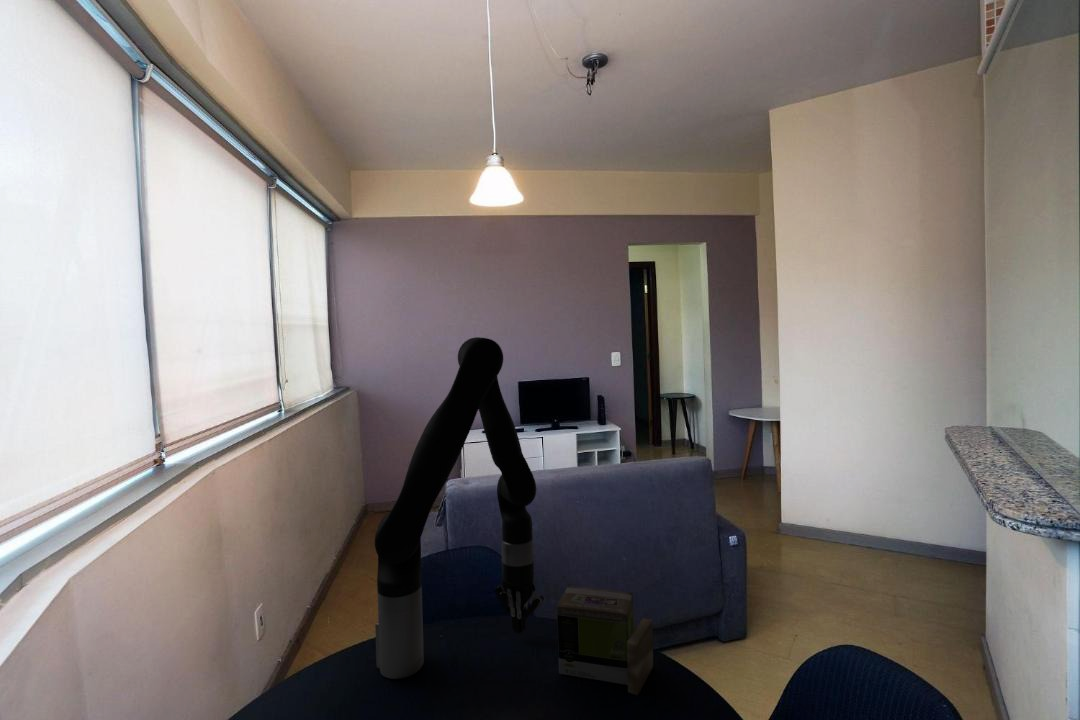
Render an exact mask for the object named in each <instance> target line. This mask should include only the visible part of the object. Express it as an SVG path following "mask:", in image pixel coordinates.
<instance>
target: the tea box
mask: <svg viewBox="0 0 1080 720" xmlns="http://www.w3.org/2000/svg"><path fill="white" fill-rule="evenodd" d="M633 595H634V593H633V592H629V591H620V590H619V591H618V590H609V589H600V588H591V587H583V586H582V587H581V586H572V585H567V587H566V589H565V590H564V592H563V594H562V596H561V598H560V599H559V602H558V603H557V606H556V622H557V624H556V625H557V649H558V651H557V653H558V671H559V675H565V676H570V677H578V678H583V679H584V678H585V679H589V680H595V681H601V682H607V683H612V684H613V683H614V684H618V685H626V686H628V672H627V641H628V640H629V638H630V637H631V635H632V634H633V632H634V631H635V617H634V616H635V615H634V614H635V612H634V609H635V608H634V596H633Z"/></svg>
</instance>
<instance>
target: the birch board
mask: <svg viewBox="0 0 1080 720" xmlns="http://www.w3.org/2000/svg"><path fill="white" fill-rule="evenodd" d="M653 639H654V638H653V620H652V619H647V618H642V619H641V620H640V622H639V624H638V625H637V626H636V628H634V632H633V634H632V635H631V637H630V638H629V640H628V641H627V672H628V685H627V692H628V693H629V694H631V695H634V696H639V694H640V692H641V690H642V689H643V686H644V685H645V683H646V681H647V679H648V677H649V675H650V673H651V672H652V670H653V668H654V646H653V645H654V644H653V643H654V641H653Z"/></svg>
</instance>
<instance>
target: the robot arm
mask: <svg viewBox="0 0 1080 720" xmlns="http://www.w3.org/2000/svg"><path fill="white" fill-rule="evenodd" d="M457 361H458V365H459V367H458V370H457V373H456V376H455V377H454V380H453V382H452V383H453V384H452V385H451V388H450V390H449V392H448V393H447V395H446V397H445V398H444V400H443V401H442V402H441V403H440V405H439V406H438V407H437V409H436V410H435V412H433V414H432V416H431V417H430V419H429V420H428V422H427V424H426V425H425V427H424V429H423V430H422V434H421V435H420V438H419V440H418V442H417V444H416V447H415V449H414V451H413V454H412V456H411V459H410V462H409V465H408V467H407V471H406V475H405V478H404V481H403V485H402V487H401V490H400V493H399V495H398V497H397V499H396V501H395V503H394V505H393V507H392V508H391V510H390V511H389V512H387V513H386V514H385V515H383V517H382V518H381V520H380V521H379V522H378V525H377V529H376V532H375V536H374V548H375V552H376V554H377V557H378V558H377V576H376V577H377V578H376V587H377V589H376V590H377V612H378V614H377V615H378V617H377V619H378V620H377V622H376V623H375V627H374V628H375V629H374V630H375V654H376V655H375V657H376V668H378V669H379V673H380V675H381V676H383V677H384V678H386V679H390V680H392V679H393V680H399V679H400V680H401V679H405V678H408V677H410V676H413V675H415V674H416V673H418V672H419V671H420V670H421V669H422V668H423V666H424V663H425V662H424V659H425V658H424V627H423V626H424V624H423V623H424V621H423V619H424V618H423V593H422V592H423V589H422V587H423V586H422V543H421V542H422V535H423V532H424V530H425V526H426V523H427V521H428V518H429V515H430V514H431V513H430V512H431V510H432V508H433V506H434V504H435V502H436V500H437V499H438V497H439V495H440V493H441V491H442V490H443V489H444V486H445V484H446V483H447V481H448V478H449V476H450V474H451V473H452V471H453V469H454V467H455V466H456V463H457V462H458V459H459V457H460V454H461V453H462V450H463V449H464V445H465V443H466V440H467V438H468V436H469V433H470V431H471V430H472V426H473V425H474V421H475V419H476V416H477V414H478V411H479V415H480V419H481V423H482V426H483V431H484V434H485V438H486V441H487V446H488V449H489V451H490V452H489V453H490V456H491V459H492V461H493V464H494V465H495V466H496V467H497V469H498V470H499V471H500V472H501V475H500V477H498V482H497V486H496V494H497V495H496V496H497V502H498V508H499V512H500V516H501V522H502V523H501V528H502V529H501V530H502V531H501V534H502V535H501V536H502V538H501V539H502V541H501V579H502V581H501V584H499V585H498V586H497V587H495V588H494V589H493V593H495V596H496V597H497V599H498V601H499V602H500V605H501V606H502V608H503V610H504V612H505V613H509V614H510V616H511V619H512V620H511V622H512V623H511V625H512V626H511V628H512V630H513V633H514V634H517V635H521V634H522V633H524V631H525V630H526V629H527V628H526V627H527V626H526V625H527V624H526V619H528V618H529V617H530V616H531V615H532V614H534V613H535V611H536V610H537V608H539V606H540V605H541V604H542V603H543V601H544V596H543V595H539V593H537V592H536V586H535V584H534V578H535V552H534V551H535V550H534V542H533V541H534V540H533V518H532V516H531V514H530V513H529V511H528V510H527V506H529V505H531V504H532V502H533V501H534V500H535V499H536V496H537V495H536V494H537V483H536V480H535V478H534V475H533V472H532V470H531V468H530V465H529V464H528V461H527V460H526V458H525V455H524V454H523V450H522V447H521V442H520V439H519V435H518V432H517V429H516V425H515V423H514V421H513V418H512V416H511V414H510V411H509V409H508V407H507V404H506V402H505V400H504V397H503V394H502V391H501V387H500V384H499V383H500V382H499V379H498V375H499V373H500V372H501V370H502V367H503V363H504V352H503V350H502V347H501V346H500V344H499V343H498V342H497V341H495V340H493V339H491V338H487V337H476V336H475V337H472V338H469V339H467V340H466V341H464V342H462V344H461V346H460V347H459V349H458V353H457ZM529 601H530V605H529ZM528 605H529V606H528Z"/></svg>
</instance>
